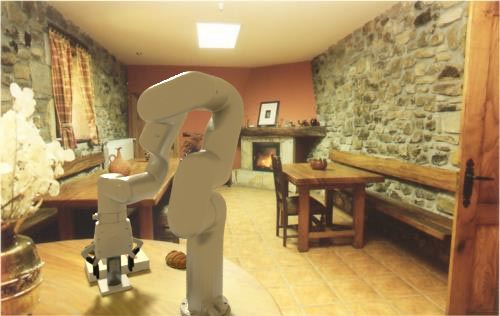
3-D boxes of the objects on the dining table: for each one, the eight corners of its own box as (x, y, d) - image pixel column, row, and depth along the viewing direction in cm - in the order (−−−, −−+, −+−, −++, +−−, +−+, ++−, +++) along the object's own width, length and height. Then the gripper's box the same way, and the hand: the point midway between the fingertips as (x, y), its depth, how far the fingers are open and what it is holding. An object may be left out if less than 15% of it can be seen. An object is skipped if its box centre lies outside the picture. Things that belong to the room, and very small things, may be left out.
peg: (122, 283, 94) (122, 257, 93) (108, 287, 91) (107, 260, 91) (120, 278, 97) (119, 253, 96) (105, 281, 95) (105, 255, 94)
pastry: (195, 265, 109) (194, 254, 109) (178, 272, 104) (178, 261, 104) (179, 257, 116) (179, 247, 115) (162, 263, 111) (162, 252, 110)
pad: (131, 288, 93) (131, 285, 93) (101, 295, 89) (101, 292, 89) (125, 276, 100) (125, 273, 100) (97, 283, 95) (97, 280, 95)
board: (149, 268, 106) (149, 259, 105) (89, 282, 96) (89, 271, 96) (140, 255, 116) (140, 246, 115) (84, 266, 106) (84, 257, 106)
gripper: (80, 224, 84) (82, 286, 86) (146, 215, 94) (147, 271, 95) (77, 217, 90) (79, 275, 92) (140, 209, 100) (140, 262, 102)
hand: (114, 273), depth 94 cm, fingers open, 8 cm apart
